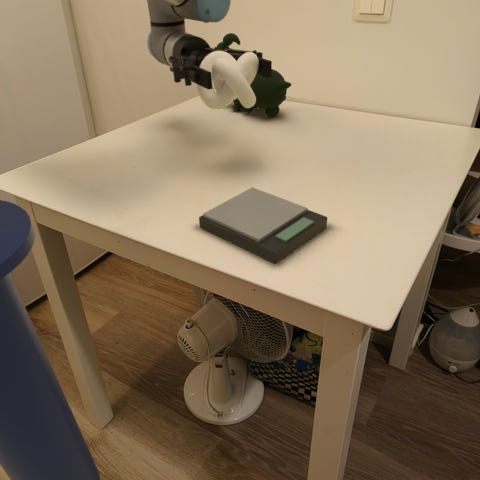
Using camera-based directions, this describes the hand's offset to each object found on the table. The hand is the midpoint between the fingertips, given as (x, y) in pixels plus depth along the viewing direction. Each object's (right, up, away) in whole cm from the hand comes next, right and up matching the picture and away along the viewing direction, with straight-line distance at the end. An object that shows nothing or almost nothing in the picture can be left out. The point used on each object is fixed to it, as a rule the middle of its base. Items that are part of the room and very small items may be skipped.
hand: (240, 75), depth 80 cm
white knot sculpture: (-1, -3, +6) cm, 7 cm away
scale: (+4, -28, -7) cm, 29 cm away
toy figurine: (+3, +8, +39) cm, 40 cm away
